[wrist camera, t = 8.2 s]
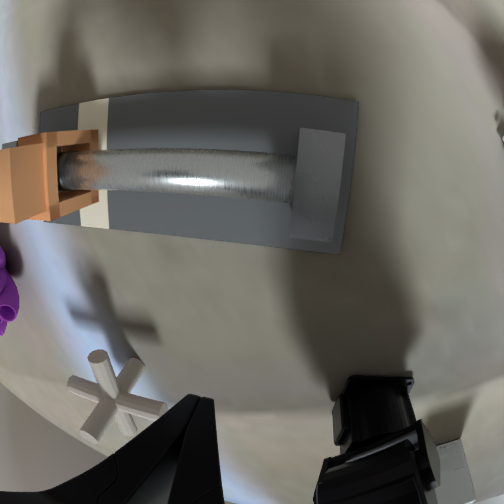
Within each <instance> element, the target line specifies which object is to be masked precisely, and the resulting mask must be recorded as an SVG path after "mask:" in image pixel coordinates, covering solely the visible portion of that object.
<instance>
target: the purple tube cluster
mask: <svg viewBox="0 0 504 504" xmlns="http://www.w3.org/2000/svg"><path fill="white" fill-rule="evenodd" d="M5 263H6V259H5V253H4V251H3V250H2V248H1V247H0V335H1V336H2V335H3V334H4V332H5V329H6V326H7V321H8V322H9V321H13V320H14V319H15V318H16V316H17V313H18V310H19V294H18V290H17V287H16V285H15V283H14V281H13V279H12V278H11V276H10V274H9V273H8V271H7V270H6V268H5Z"/></svg>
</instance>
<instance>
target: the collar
mask: <svg viewBox="0 0 504 504" xmlns="http://www.w3.org/2000/svg"><path fill="white" fill-rule="evenodd" d="M57 146H61V152H67V151H78V152H82V151H96V150H98V130H72V131H56V132H45V133H40V134H35V135H30V136H25V137H21V138H18V147H13V148H7V149H3V150H0V222H4V223H12V224H16V223H19V222H21V221H23V220H26V219H32V220H42V221H53V220H55V219H57V218H60V217H62V216H64V215H67V214H69V213H72V212H74V211H77V210H79V209H82V208H84V207H87V206H89V205H92V204H94V203H97V202H99V190H74V191H61V192H58V181H57Z"/></svg>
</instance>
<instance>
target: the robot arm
mask: <svg viewBox="0 0 504 504" xmlns="http://www.w3.org/2000/svg"><path fill="white" fill-rule="evenodd" d="M352 381H354V382H352ZM413 385H414V379H413V377H380V376H351V377H349V379H348V381H347V383H346V386H345V389H344V391H343V394H341V395H339V397H338V399H337V402H336V404H335V407H334V409H333V412H332V413H333V434H334V444H335V445H336V446H340V455H338V456H335V457H332V458H331V457H329V458H326V459H324V462H323V465H322V469H321V472H320V475H319V479H318V482H317V485H316V489H315V492H314V496H313V502H314V504H438V501H437V497H436V493H435V488H437V487H439V486H440V458H439V454H438V451H437V448H436V445H435V442H434V439H433V438H432V436H431V434H430V433H429V431H428V429H427V428H426V426H425V425H424V423H423V421H422V420H421V419H420V420H418V421H416V418H415V414H414V411H413V407H412V404H411V401H410V398H409V395H408V394H409V392H410V390H411V388H412V386H413ZM0 504H225V503H224V497H223V489H222V481H221V472H220V463H219V453H218V442H217V431H216V420H215V407H214V400H213V399H212V398H207V397H200V396H198V395H193V394H188V395H186V396H185V397H184V398H183V399H182V400H180V401H179V402H178V403H177V404H176V405H174V406H173V407H172V408H171V409H169V410H168V411H167V412H166V413H165V414H163V415H162V416H161V417H160V418H158V419H157V420H156V421H155V422H153V423H152V424H151V425H150V426H148V427H147V428H146V429H145V430H143V431H142V432H141V433H139V434H138V435H137V436H136V437H134V438H133V439H132V440H130V441H129V442H128V443H127V444H125V445H124V446H123V447H121V448H120V449H119V450H117V451H116V452H115V454H112V455H110V456H109V457H108V458H107V459H105V460H104V461H102V462H100V463H99V464H98V465H96V466H94V467H93V468H91V469H89V470H88V471H86V472H84V473H82V474H80V475H78V476H76V477H74V478H72V479H70V480H68V481H67V482H64V483H62V484H60V485H58V486H56V487H54V488H52V489H48V490H45V491H39V492H5V491H0Z"/></svg>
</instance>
